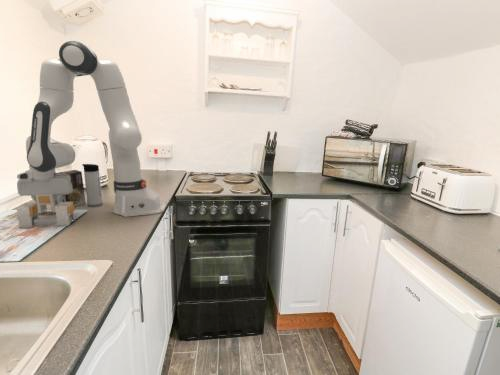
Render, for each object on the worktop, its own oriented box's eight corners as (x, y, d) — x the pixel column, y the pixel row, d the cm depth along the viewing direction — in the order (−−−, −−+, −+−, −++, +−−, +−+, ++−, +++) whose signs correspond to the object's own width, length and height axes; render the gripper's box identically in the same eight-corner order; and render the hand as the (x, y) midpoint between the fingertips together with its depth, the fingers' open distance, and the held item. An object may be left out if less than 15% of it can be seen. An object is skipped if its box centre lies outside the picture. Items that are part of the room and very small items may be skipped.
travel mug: (85, 204, 141) (80, 163, 136) (99, 202, 146) (95, 162, 141) (89, 207, 137) (84, 165, 132) (104, 205, 141) (100, 163, 136)
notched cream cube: (44, 209, 131) (41, 191, 129) (59, 208, 132) (57, 191, 130) (38, 213, 126) (34, 195, 124) (53, 212, 127) (51, 194, 125)
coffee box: (78, 201, 146) (74, 169, 142) (86, 203, 142) (82, 171, 138) (59, 206, 138) (54, 172, 134) (66, 208, 135) (62, 174, 131)
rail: (76, 220, 121) (74, 201, 119) (70, 225, 115) (68, 206, 113) (28, 222, 118) (25, 202, 116) (19, 227, 112) (16, 207, 110)
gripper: (72, 171, 130) (77, 201, 133) (21, 172, 126) (26, 203, 130) (66, 174, 124) (71, 205, 127) (12, 175, 120) (18, 207, 124)
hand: (48, 204), depth 128 cm, fingers closed on notched cream cube, 6 cm apart
